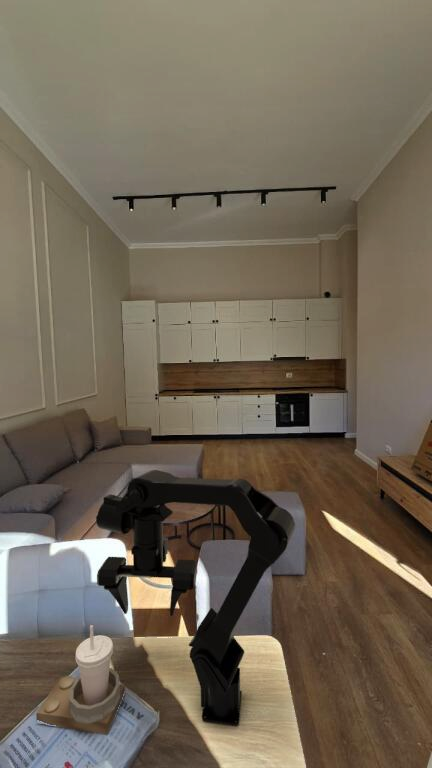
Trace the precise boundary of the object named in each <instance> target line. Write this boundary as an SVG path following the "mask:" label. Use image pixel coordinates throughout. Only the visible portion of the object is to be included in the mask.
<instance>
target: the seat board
mask: <svg viewBox="0 0 432 768" xmlns="http://www.w3.org/2000/svg"><path fill="white" fill-rule="evenodd" d="M124 691H125V692H126V685H125V684H123V683H122V684H121V683H120V676H119V673H117V672H116V671H115V670H114V669H113V668H112V667H110V669H109V679H108V689H107V698H106V699H105V700H104V701H102V702H100V703H97V704H94V705H91V706H87V705H85V702H84V696H83V690H82V684H81V678H80V675H79V676H78V677H77V678H74V677H73V676H71V675H67V676H60V678H59V679H58V680H57V682H56V683H55V685H54V686H53V687H52V689H51V691H50V692H49V694H48V695H47V697H46V698H45V700H44V701H43V702H42V704H41V705H40V707H39V708H38V710H36V713H35V714H36V721H37V720H39V721H42V722H44V723H47V724H50V725H56V726H59V727H58V728H60V727H62V728H61V729H67V730H74V731H81V732H86V733H94V734H100V735H108V734H109V732H110V729H111V727H112V725H113V723H114V721H115V719H114V718H116V716H117V714H116V713H118V712H117V710H118V707H119V705H120V702H121V700H122V697H123V694H124ZM120 706H121V705H120ZM119 708H120V707H119ZM118 711H119V710H118ZM115 715H116V716H115Z"/></svg>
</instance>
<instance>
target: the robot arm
mask: <svg viewBox="0 0 432 768" xmlns="http://www.w3.org/2000/svg"><path fill="white" fill-rule="evenodd" d="M170 503H178V504H192V505H195V504H196V505H209V506H210V505H211V506H224V507H225V506H226V507H227V506H228V507H229V508H230V510H232V512H234V514H235V516H236V518H237V520H238V522H239V523H240V526H241V527H242V529H243V530H244V532H245V533H246V534H247V535H248V536H249V537H250V539H249V543H248V545H247V546H248V547H247V554H246V559H245V560H244V563H243V565H242V566H241V568H240V570H239V572H238V574H237V575H236V578H235V580H234V581H233V583H232V586H231V588H230V589H229V591H228V593H227V595H226V597H225V599H224V601H223V602H222V604H221V606H220V608H219V610H218V611H217V612H216V611H215V609H214V608H213V607H210V609H209V610H208V612H207V613H206V615H205V616H204V618H203V619H202V621H201V622H200V624H199V626H198V627H197V630H196V632H195V634H194V636H193V637H192V639H191V640H190V642H189V643H188V646H189V647H191V648H190V650H189V658H190V661H191V662H192V665H193V667H194V671H195V675H196V677H197V680H198V683H199V686H200V687H199V688H200V707H201V708H202V714H201V721H203V722H206V723H207V722H209V723H215V724H216V723H217V724H223V725H231V726H236V727H237V726H238V725H239V724H240V718H241V717H240V715H241V707H242V706H241V705H242V690H241V667H239V666H240V664H241V662H242V661H243V660H242V659H243V657H244V655H245V649H243V647H242V645H240V643H239V642H238V641H237V640H236V638H235V634H236V631H237V624H238V621H239V619H240V618H241V616H242V614H243V612H244V611H245V609H246V607H247V605H248V603H249V601H250V599H251V598H252V596H253V595H254V592H255V590H256V588H257V586H258V585H259V583H260V581H261V579H263V578H262V577H263V576H264V574H265V572H266V571H267V570H268V569H270V568H271V566H273V565H274V564H275V563H276V562H277V561H278V559H279V558H280V557H281V556H282V555H283V554H284V553H285V551H286V550H287V547H288V546H289V543H290V541H291V538H292V536H293V534H294V532H295V529H296V523H295V520H294V517H293V515H292V514H291V513H290V512H289V511H288V510H287V509H285V508H283V507H281V506H279V505H278V504H277V503H276V501H274V500H273V499H272V498H271V497H270V496H268V495H266V494H265V493H263V492H261V491H260V490H258V489H256V488H255V487H254V486H253V484H251V483H250V482H249V481H248V480H247V479H244V478H235V479H228V478H227V479H226V478H196V477H193V478H192V477H177V476H175V475H173V474H172V473H170V472H167V471H161V470H157V469H151V470H149V471H147V472H145V473H143V474H141V475H138V476H136V477H135V478H133V479H131V480H130V481H129V483H128V485H127V491H126V493H125V494H124V495H123V497H121V496H118V495H116V494H108V495H106V496H104V497H103V503H102V504H101V505H100V507H99V509H98V512H97V515H96V517H95V521H96V525H97V527H98V528H99V529H101V530H104V531H105V530H106V531H110V532H114V533H118V534H123V535H124V534H125V535H126V534H128V533H129V532H131V531H132V548H131V550H130V552H131V555H132V556H133V557H132V559H133V561H132V563H133V564H127V559H126V557H123V556H107V557H106V559H105V560H104V562H103V563H102V564H101V566H100V568H98V570H97V575H96V584H97V585H98V586H99V587H103V589H104V590H105V591H109V593H110V594H111V596H112V597H113V598H114V599H115V601H116V602H117V604H118V606H119V607H120V610H122V613H123V614H124V615H127V613H128V611H129V597H128V595H129V594H128V584H127V583H128V582H127V580H128V578H147V579H149V578H150V579H151V578H163V579H172V588H171V590H170V591H171V593H170V605H169V614H170V617H173V615H174V612H175V609H176V606H177V603H178V601H179V599H180V597H181V596H182V594H186V593H188V591H191V590H193V589H195V585H196V580H197V574H198V563H197V562H196V560H195V559H177V561H176V564H175V566H171V565H170V566H168V565H166V566H165V565H164V563H166V562H167V561H166V560H167V555H168V550H169V538H168V537H164V535H163V531H164V530H163V526H164V525H163V523H164V521H166V520H167V519H168V518H169V517H171V516H173V514H174V512H173V510H171V509H170V508H169V507H168V506H167V505H166V504H170Z"/></svg>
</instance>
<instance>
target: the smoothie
mask: <svg viewBox="0 0 432 768" xmlns="http://www.w3.org/2000/svg"><path fill="white" fill-rule="evenodd" d="M113 652H114V643H113V640H112V639H111V638H110V637H109V636H107V635H94V625H92V624H90V626H89V638H87V639H84V640H83V641H82V642H81V643H80V644H79V645H78V646H77V647H76V650H75V661H76V664H77V665H78V671H79V676H80V678H81V684H82V690H83V696H84V702H85V705H87V706H91V705H94V704H97V703H100V702H102V701H104V700H105V699H106V698H107V689H108V679H109V669H110V668H111V659H112V658H111V657H112V654H113Z"/></svg>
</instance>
